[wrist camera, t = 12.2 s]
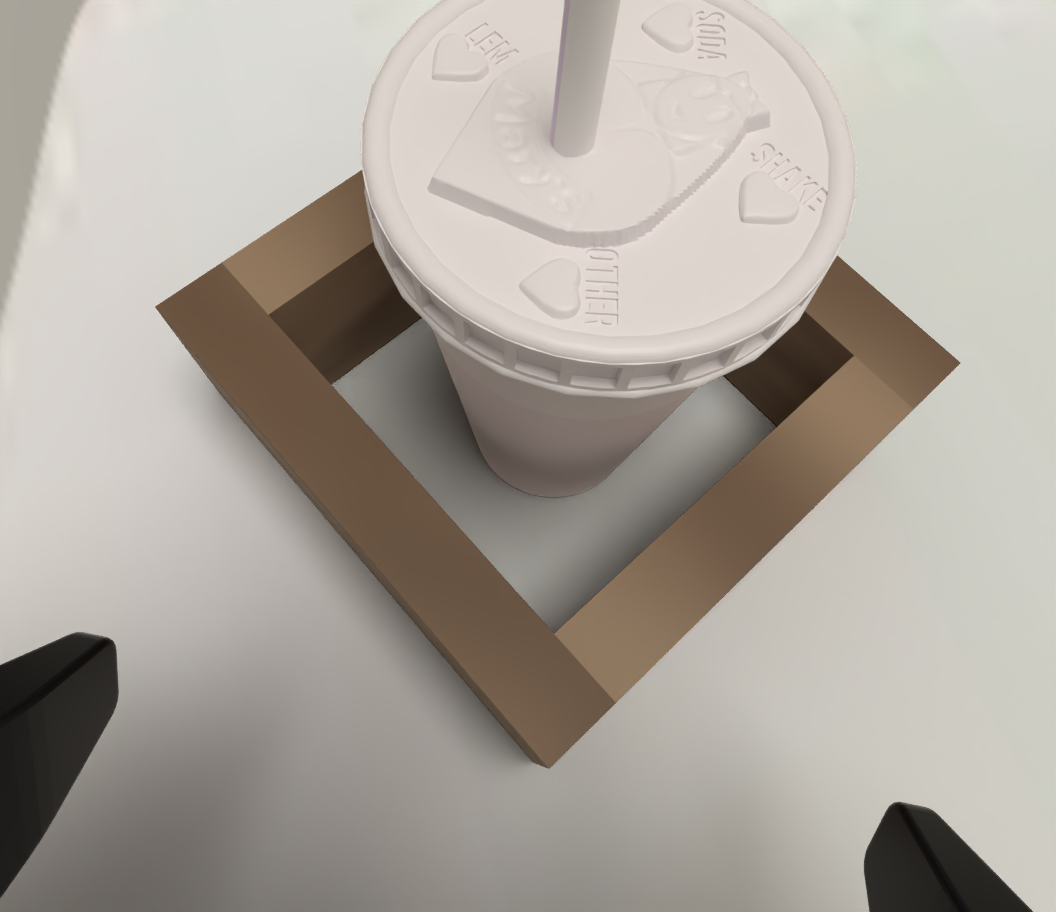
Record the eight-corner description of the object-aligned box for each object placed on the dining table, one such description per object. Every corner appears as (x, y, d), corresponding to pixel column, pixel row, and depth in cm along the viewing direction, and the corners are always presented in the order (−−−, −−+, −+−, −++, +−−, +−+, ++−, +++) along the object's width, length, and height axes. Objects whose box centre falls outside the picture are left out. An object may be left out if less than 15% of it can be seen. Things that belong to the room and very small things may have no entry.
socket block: (533, 762, 17) (549, 768, 13) (219, 393, 19) (154, 306, 15) (867, 436, 19) (960, 363, 16) (559, 151, 22) (576, 28, 18)
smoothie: (383, 347, 20) (173, -462, 6) (624, 275, 21) (871, -550, 7) (468, 595, 18) (417, 168, 4) (729, 502, 19) (1312, -70, 6)
